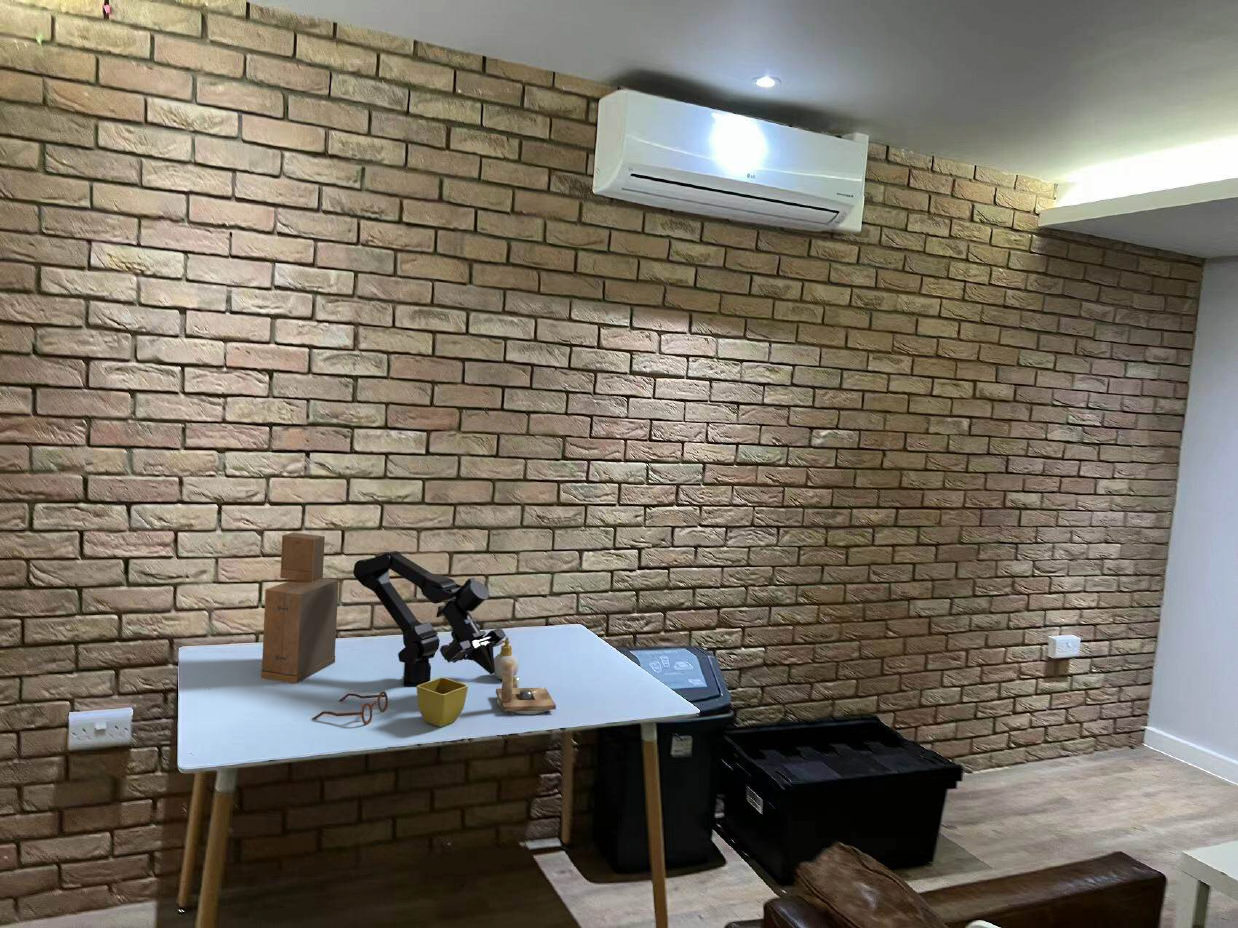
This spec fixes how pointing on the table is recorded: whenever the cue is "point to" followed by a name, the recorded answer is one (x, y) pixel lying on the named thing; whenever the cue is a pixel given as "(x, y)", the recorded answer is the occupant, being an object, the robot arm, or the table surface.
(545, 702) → the flange plate
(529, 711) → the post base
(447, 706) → the flower pot
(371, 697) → the glasses
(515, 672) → the perfume bottle
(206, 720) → the table surface
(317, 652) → the stacked wooden blocks
